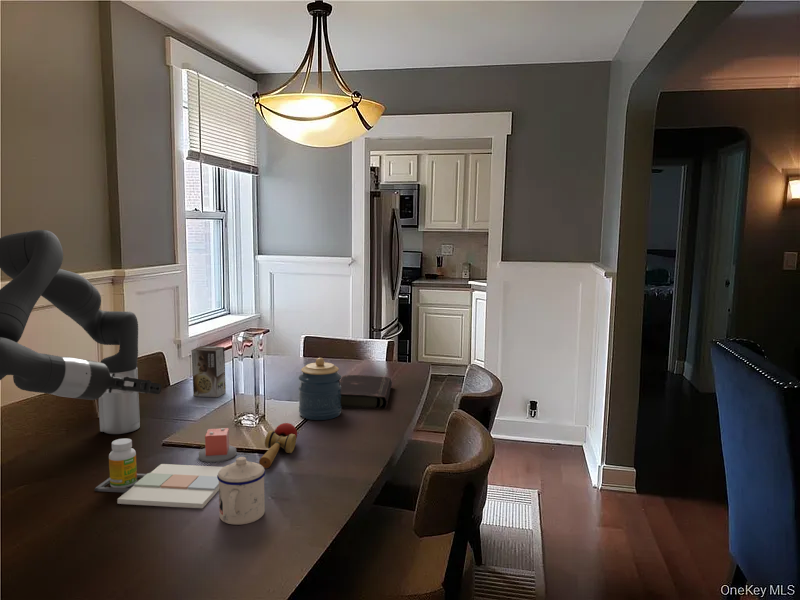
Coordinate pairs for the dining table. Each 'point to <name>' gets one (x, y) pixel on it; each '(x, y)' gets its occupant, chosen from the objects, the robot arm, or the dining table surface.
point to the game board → (171, 487)
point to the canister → (320, 391)
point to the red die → (217, 446)
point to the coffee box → (208, 371)
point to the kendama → (278, 442)
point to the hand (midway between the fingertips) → (146, 388)
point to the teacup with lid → (241, 492)
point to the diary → (364, 391)
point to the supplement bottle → (122, 464)
